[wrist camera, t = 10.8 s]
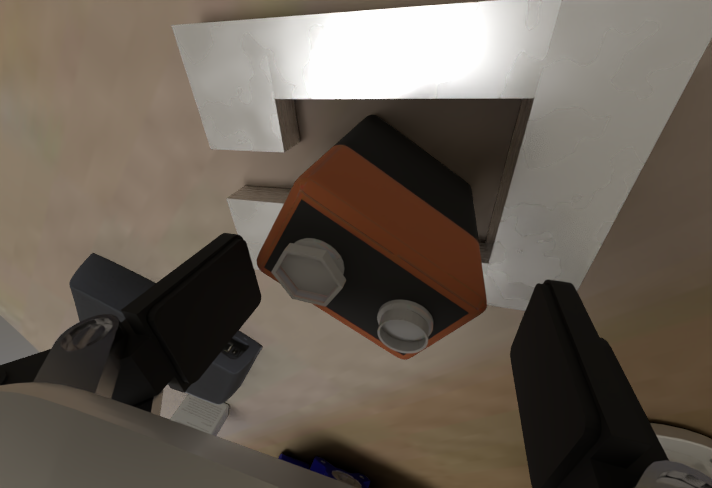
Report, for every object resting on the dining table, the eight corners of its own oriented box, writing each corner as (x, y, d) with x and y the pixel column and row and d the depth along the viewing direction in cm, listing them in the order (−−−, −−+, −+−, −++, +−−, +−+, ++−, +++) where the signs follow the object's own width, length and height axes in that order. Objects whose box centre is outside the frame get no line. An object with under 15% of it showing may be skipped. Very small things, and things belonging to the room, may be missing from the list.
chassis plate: (695, -9, 10) (741, -19, 8) (553, 292, 18) (563, 316, 16) (201, 26, 15) (171, 25, 13) (262, 252, 23) (248, 268, 21)
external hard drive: (241, 384, 38) (221, 416, 35) (105, 312, 37) (72, 338, 34) (267, 339, 30) (245, 375, 27) (96, 244, 29) (51, 270, 26)
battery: (371, 108, 15) (278, 186, 7) (476, 186, 15) (501, 338, 8) (332, 174, 17) (232, 286, 9) (423, 237, 18) (401, 391, 10)
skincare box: (193, 399, 45) (124, 496, 35) (192, 387, 42) (116, 488, 33) (229, 415, 44) (169, 517, 35) (230, 404, 42) (165, 511, 32)
